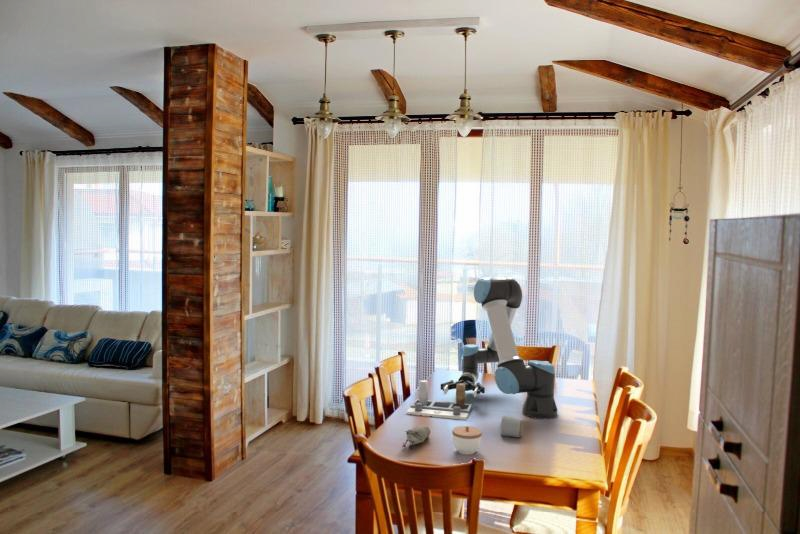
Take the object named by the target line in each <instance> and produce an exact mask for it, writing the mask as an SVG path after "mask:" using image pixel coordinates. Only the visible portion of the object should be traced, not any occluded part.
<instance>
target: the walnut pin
mask: <svg viewBox="0 0 800 534" xmlns="http://www.w3.org/2000/svg"><path fill="white" fill-rule="evenodd" d="M455 391H456V392H455V403H456V406H459V407H461V409H465V404H466V391H465V384H462V383H458V384H456V389H455ZM465 410H466V409H465Z"/></svg>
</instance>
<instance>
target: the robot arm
mask: <svg viewBox="0 0 800 534" xmlns="http://www.w3.org/2000/svg"><path fill="white" fill-rule="evenodd" d="M473 298H474V300H475V302H476V303H478V304H481V307H482V310H484V311H486V313H487V318H488V322H489V326H490V329H491V330H490V331H491V335H490V336H489V341H488V344H487V346H486V347H480V348H479V346H478V344H472V343H471V344H469V343H468V344H465V345H463V348H462V371H461V372H462V373H461V375H460V377H459V378H458V381H454V380H453V379H452V380H449V381H446V382H442V383H440V390H442V391H443V395H446V394H447V393H448V391H449V390H456V384H458V383H462V384H465V392H469V391H473V398H477V396H478V395H480V394H481V393H482V394H485V391H486V390H485V389H486V388H485V386H483V385H482V384H481V383H480V382H478V379H479V376H480V375H479V365H480V364H491V363H492V364H493V363H498V364H497V365H496V367H497V368H496V369H495V371H494V381H495V382H494V383H495V384H496V386H497V388H498V389H499V391H501V393H503V394H505V395H510V394H511V395H516V394H522V393H526V397H525V401H524V403H523V405H522V414H523V415H525V416H527V417H529V418H534V417H536V418H535V419H544V418H546V419H554V418H556V417H558V412H559V411H558V406H557V403H556V399H555V378H556V377H555V376H556V371H555V366H554V364H552V363H550V362H546V361H542V360H531V359H530V360H528V361H527V363H526V364H525V361H524V359H523V358H522V357H520V356H519V352H518V349H517V345H516V342H515V338H514V335H513V330H512V327H511V326H512V323H513V320H514V317H515V315H516V312H517V310H518V309H520V307H521V304H522V301H523V290H522V287H521V285H520V283H519V282H518V281H517V280H516V279H515V278H513V277H510V276H497V277H495V276H492V277H489V276H486V277H481V278H479V279H478V280H476V282H475V284H474V288H473Z"/></svg>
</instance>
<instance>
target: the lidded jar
mask: <svg viewBox="0 0 800 534" xmlns="http://www.w3.org/2000/svg"><path fill="white" fill-rule="evenodd" d="M451 431H452V443H453V446H454V448H455V449H456V450H457V451H458V453H459V454H462V455H467V456H468V455H473V454H475V453H476V452H477V451H478V450H479V448H480V447H481V444H482V435H483V431H482V430H481V429H480V428H478V427H474V426H470V425H461V426H456V427H454V428H453V429H452V430H451Z"/></svg>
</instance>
